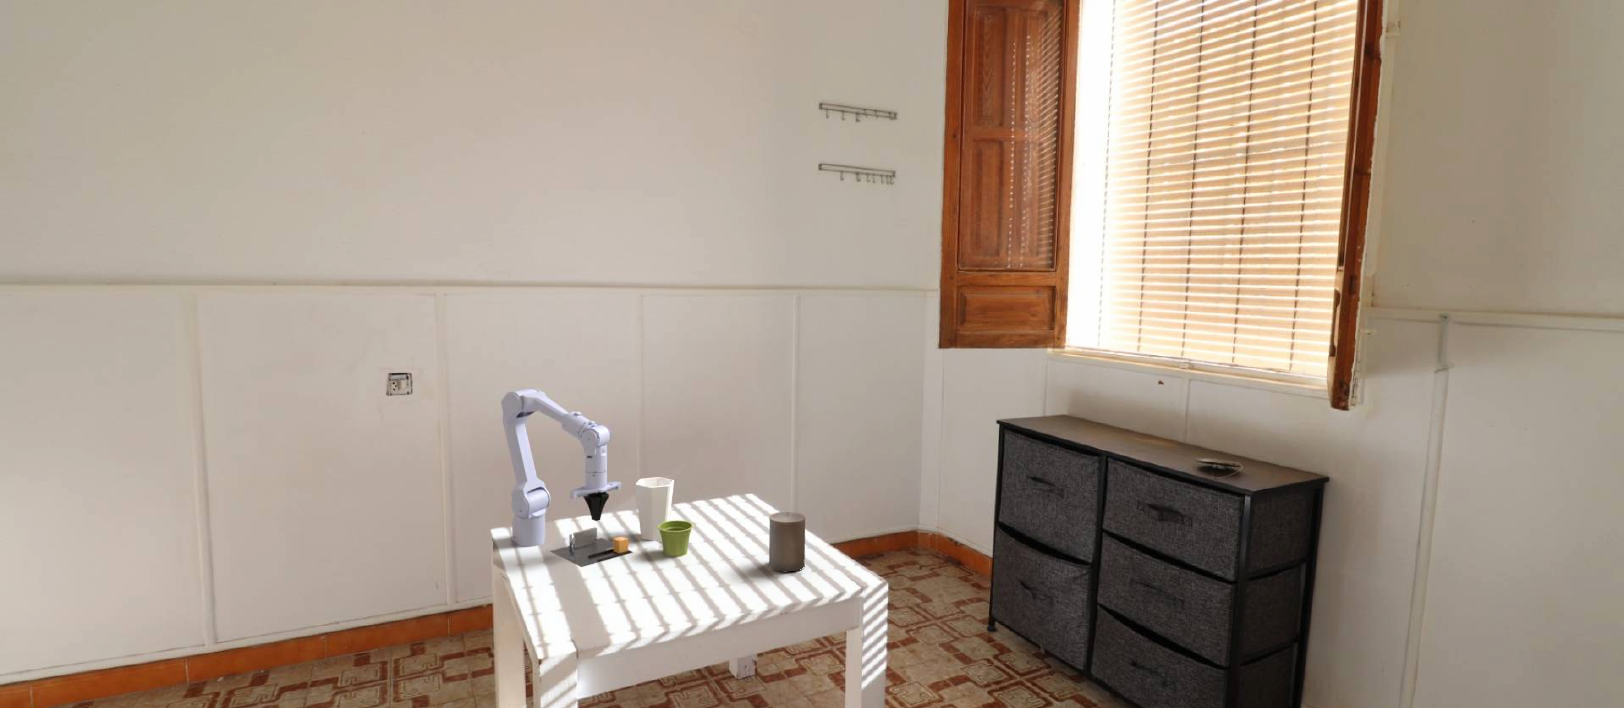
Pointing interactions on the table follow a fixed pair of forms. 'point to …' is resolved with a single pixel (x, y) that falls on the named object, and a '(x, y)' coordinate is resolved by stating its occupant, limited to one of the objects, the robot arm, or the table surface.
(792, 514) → the pillar candle
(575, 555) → the console
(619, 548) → the fader
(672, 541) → the plant pot
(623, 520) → the table surface
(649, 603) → the table surface
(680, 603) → the table surface
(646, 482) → the cup
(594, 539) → the gate
